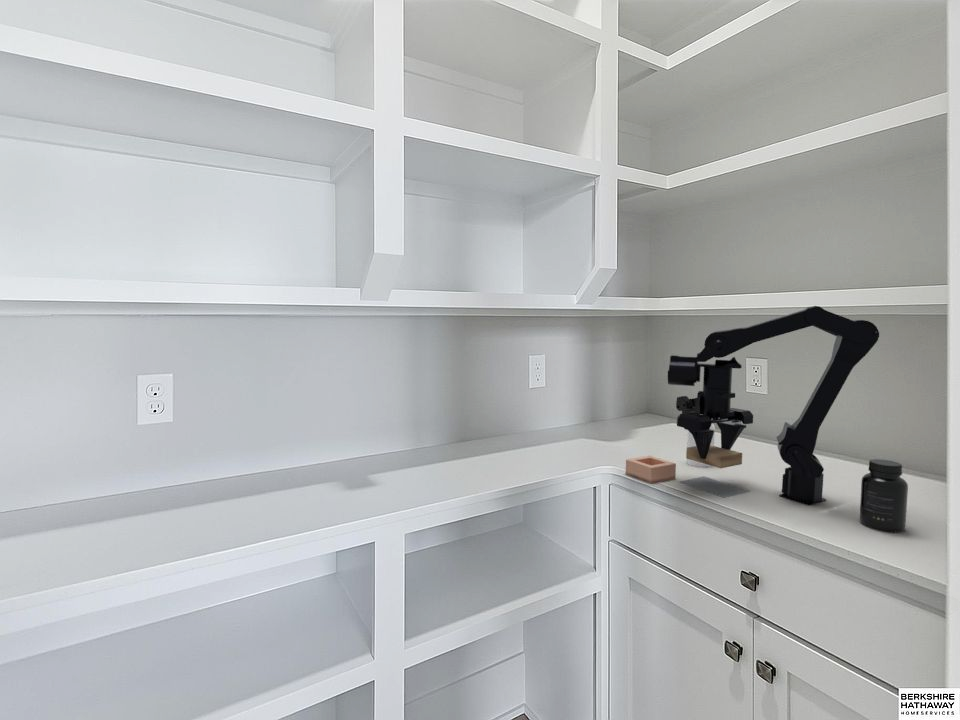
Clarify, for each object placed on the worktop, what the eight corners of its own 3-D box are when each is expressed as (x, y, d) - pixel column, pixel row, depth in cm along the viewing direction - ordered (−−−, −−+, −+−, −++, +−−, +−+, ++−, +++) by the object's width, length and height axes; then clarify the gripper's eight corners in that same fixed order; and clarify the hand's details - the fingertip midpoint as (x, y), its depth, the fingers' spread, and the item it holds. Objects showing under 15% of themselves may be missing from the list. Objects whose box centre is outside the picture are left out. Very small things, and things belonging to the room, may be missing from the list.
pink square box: (675, 480, 124) (675, 463, 124) (650, 485, 120) (651, 467, 120) (649, 471, 131) (649, 455, 131) (625, 475, 127) (626, 459, 127)
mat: (750, 492, 115) (750, 490, 115) (723, 499, 111) (723, 497, 111) (703, 478, 126) (703, 476, 126) (677, 483, 122) (677, 481, 122)
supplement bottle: (863, 516, 102) (867, 455, 101) (908, 526, 97) (913, 462, 96) (854, 525, 98) (859, 461, 97) (901, 536, 93) (906, 469, 92)
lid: (741, 464, 116) (742, 453, 116) (720, 468, 112) (721, 456, 112) (706, 454, 124) (707, 444, 123) (686, 458, 120) (686, 447, 120)
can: (684, 466, 136) (686, 420, 135) (687, 460, 141) (689, 416, 140) (712, 470, 133) (714, 423, 132) (714, 463, 138) (716, 418, 137)
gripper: (713, 381, 128) (710, 444, 130) (658, 385, 119) (656, 453, 121) (756, 386, 119) (752, 455, 120) (700, 391, 110) (697, 465, 111)
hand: (713, 456), depth 118 cm, fingers closed on lid, 7 cm apart
